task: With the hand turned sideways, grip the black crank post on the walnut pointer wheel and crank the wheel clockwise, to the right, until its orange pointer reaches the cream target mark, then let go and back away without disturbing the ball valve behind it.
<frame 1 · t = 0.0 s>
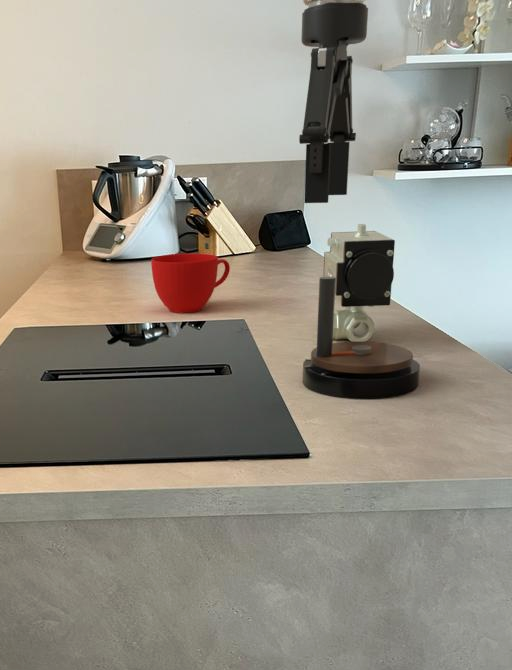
hand: (326, 199, 100), 23 cm above the countertop, tool pointing down, fingers open, 13 cm apart
pointer wheel: (363, 318, 101), point 9 cm above the countertop, hinge at 27.0°
ceramic cup: (193, 309, 157), on the countertop
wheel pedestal: (359, 382, 105), on the countertop
ball valve: (350, 339, 128), on the countertop
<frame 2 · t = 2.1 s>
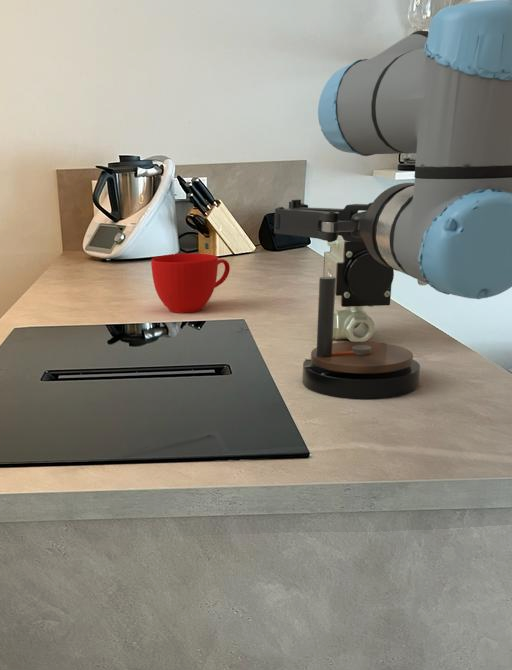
hand: (351, 212, 88), 22 cm above the countertop, tool horizontal, fingers open, 13 cm apart
nothing on the countertop moved.
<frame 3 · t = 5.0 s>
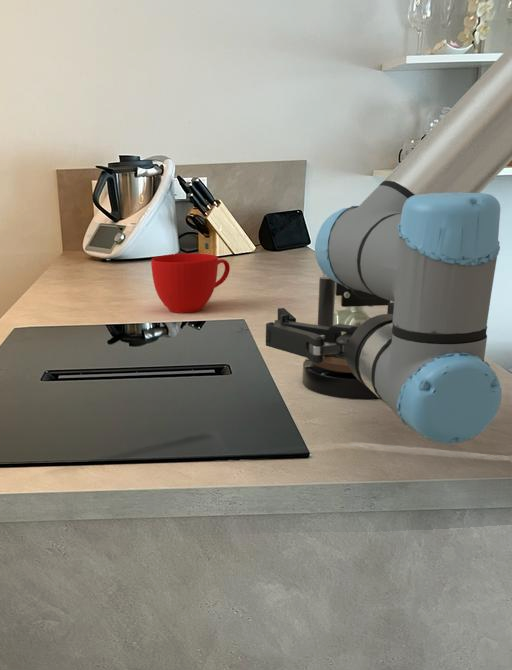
hand: (335, 316, 96), 10 cm above the countertop, tool horizontal, fingers open, 13 cm apart
nothing on the countertop moved.
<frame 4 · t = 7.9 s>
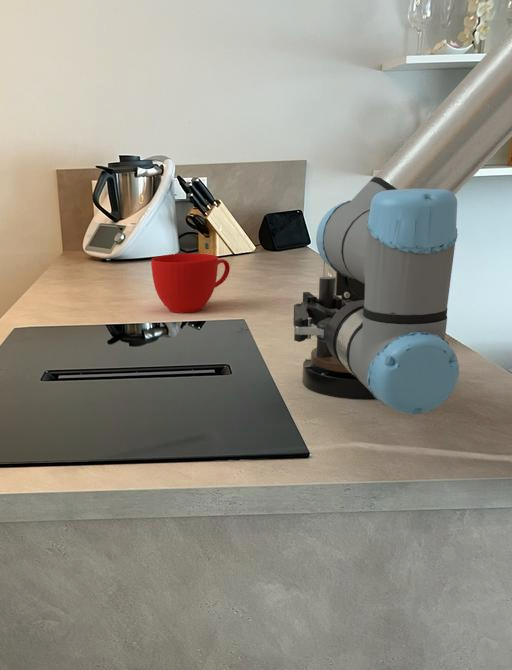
hand: (315, 301, 106), 10 cm above the countertop, tool horizontal, fingers closed on pointer wheel, 2 cm apart
pointer wheel: (363, 318, 101), point 9 cm above the countertop, hinge at 27.0°, touching gripper
everything else where it was.
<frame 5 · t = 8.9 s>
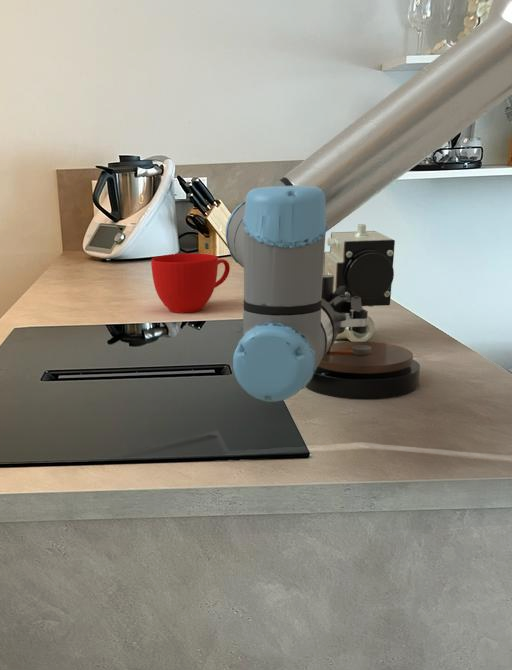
hand: (331, 295, 107), 10 cm above the countertop, tool horizontal, fingers closed on pointer wheel, 2 cm apart
pointer wheel: (363, 318, 101), point 9 cm above the countertop, hinge at 11.4°, touching gripper
everything else where it was.
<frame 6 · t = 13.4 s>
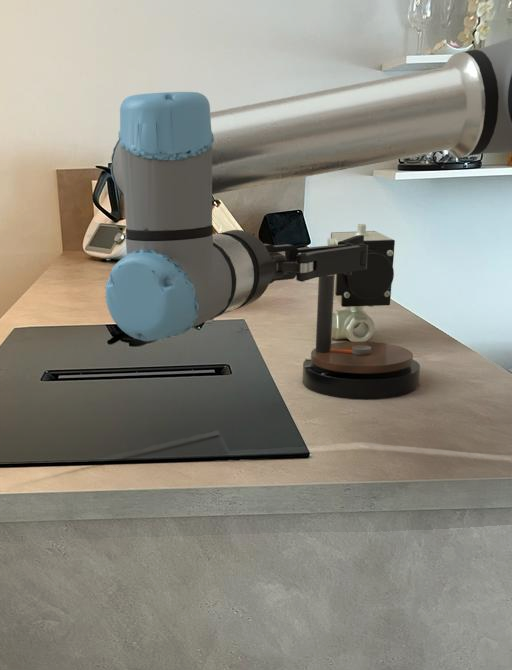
hand: (304, 246, 93), 18 cm above the countertop, tool horizontal, fingers open, 13 cm apart
pointer wheel: (363, 318, 101), point 9 cm above the countertop, hinge at -0.5°
everything else where it was.
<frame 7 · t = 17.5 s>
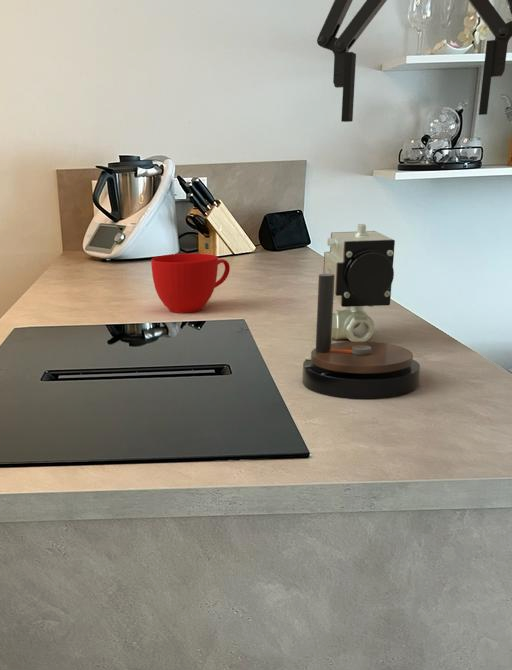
hand: (412, 118, 82), 32 cm above the countertop, tool pointing down, fingers open, 13 cm apart
nothing on the countertop moved.
at the end: pointer wheel at +0° (first picture: +27°); ball valve moved 0.2 cm from its start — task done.
